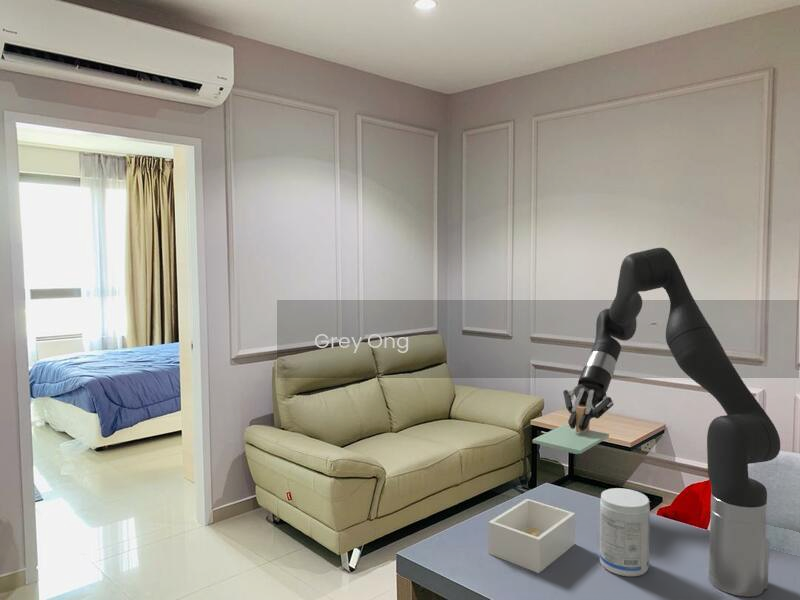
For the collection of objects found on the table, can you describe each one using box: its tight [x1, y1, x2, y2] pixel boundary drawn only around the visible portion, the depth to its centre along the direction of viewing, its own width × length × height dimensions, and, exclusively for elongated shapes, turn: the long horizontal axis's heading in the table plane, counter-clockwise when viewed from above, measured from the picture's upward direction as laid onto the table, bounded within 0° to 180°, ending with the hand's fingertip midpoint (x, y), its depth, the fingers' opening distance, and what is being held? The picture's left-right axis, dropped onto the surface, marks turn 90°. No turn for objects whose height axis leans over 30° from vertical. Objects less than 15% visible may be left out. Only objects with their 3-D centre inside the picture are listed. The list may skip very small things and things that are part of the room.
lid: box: [532, 405, 610, 455], centre depth 148 cm, size 16×12×8 cm
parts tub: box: [488, 498, 576, 574], centre depth 129 cm, size 16×12×7 cm
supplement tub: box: [599, 487, 651, 577], centre depth 121 cm, size 10×10×15 cm
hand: (576, 427), depth 150 cm, fingers closed on lid
